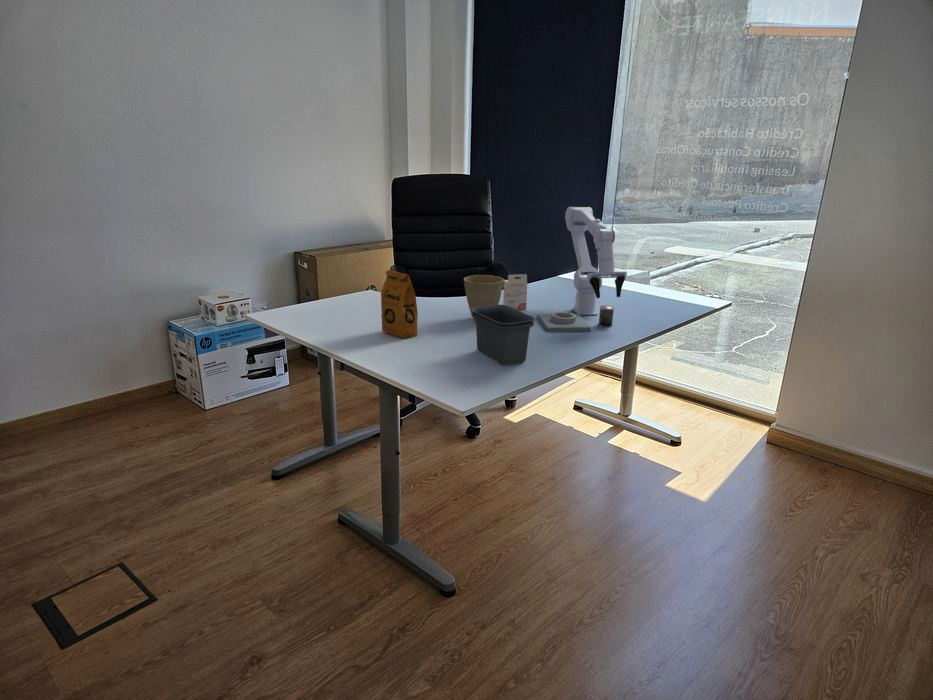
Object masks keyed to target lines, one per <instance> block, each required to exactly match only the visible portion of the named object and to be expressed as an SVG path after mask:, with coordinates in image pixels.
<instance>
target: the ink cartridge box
mask: <svg viewBox="0 0 933 700" xmlns="http://www.w3.org/2000/svg"><path fill="white" fill-rule="evenodd" d="M527 292H528V275H527V273H524V274H522V273H520V274H508V275H507V279H504V282H503V297H502V299H503V300H502V303H503V304H502V305H506V306H509V307H511V308H514V309H516V310H519V311H523V310H527V300H528V299H527V298H528V296H527Z"/></svg>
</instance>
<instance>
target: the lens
mask: <svg viewBox="0 0 933 700" xmlns="http://www.w3.org/2000/svg"><path fill="white" fill-rule="evenodd" d="M599 306H600V307H599V317H598V318H599V319H598V326H600V325H601V327H603V326H611V327H612V326H613V322H614V320H613V319H614V311H615V307H614V306H612V305H607V304H606V305H605V304H604V305H599Z"/></svg>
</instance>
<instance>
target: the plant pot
mask: <svg viewBox="0 0 933 700" xmlns="http://www.w3.org/2000/svg"><path fill="white" fill-rule="evenodd" d="M504 280H505V279H504V278H502V277H500V276H496V275H490V274H489V275H487V274H475V275H468V276H466V277H464V278H463V285H464V289H465V290H464V291H465V296H466V301H467V304H468V305H467V306H468V309H469V312H470V314H471V318H472V320H473V321H474V322H476V318H475V317H473V316H472V313H473V311H472V310H471V308H473V307H479V306H488V305H500V302H501V301H500V299H501V296H502V292H503V288H504Z"/></svg>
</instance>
